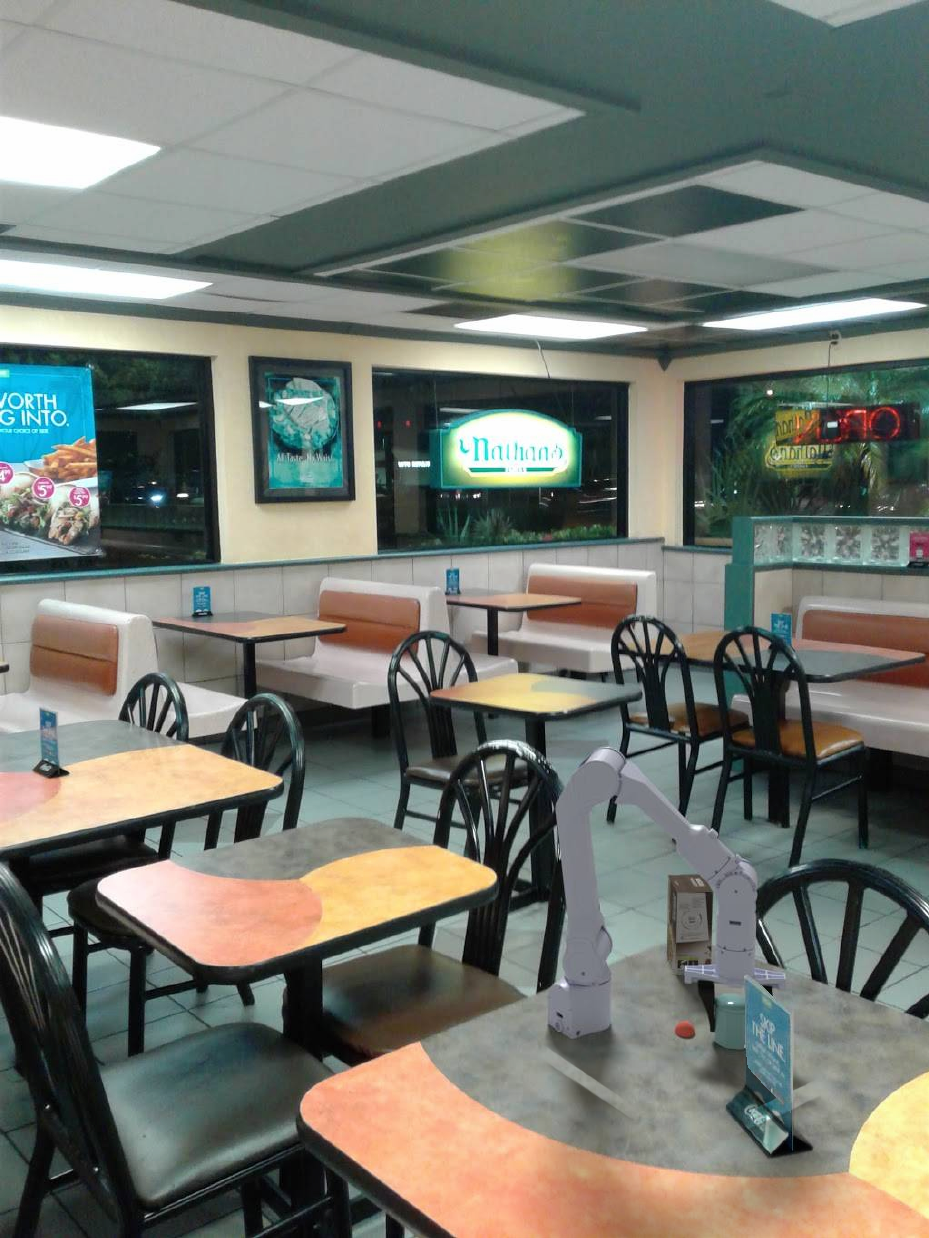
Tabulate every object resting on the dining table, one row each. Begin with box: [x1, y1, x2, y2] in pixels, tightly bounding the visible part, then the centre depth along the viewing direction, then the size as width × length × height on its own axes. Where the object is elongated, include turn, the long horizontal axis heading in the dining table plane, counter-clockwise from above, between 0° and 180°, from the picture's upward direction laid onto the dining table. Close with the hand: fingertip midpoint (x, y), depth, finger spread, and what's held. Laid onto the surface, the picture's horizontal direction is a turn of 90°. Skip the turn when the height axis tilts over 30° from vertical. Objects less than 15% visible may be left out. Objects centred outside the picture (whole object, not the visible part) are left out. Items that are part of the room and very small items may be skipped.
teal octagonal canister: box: [713, 993, 745, 1051], centre depth 164 cm, size 6×6×6 cm
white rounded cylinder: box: [714, 984, 744, 997], centre depth 178 cm, size 6×6×6 cm
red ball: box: [674, 1020, 696, 1038], centre depth 167 cm, size 3×3×3 cm
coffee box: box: [666, 873, 715, 976], centre depth 190 cm, size 9×6×16 cm
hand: (733, 1030), depth 164 cm, fingers closed on teal octagonal canister, 5 cm apart
